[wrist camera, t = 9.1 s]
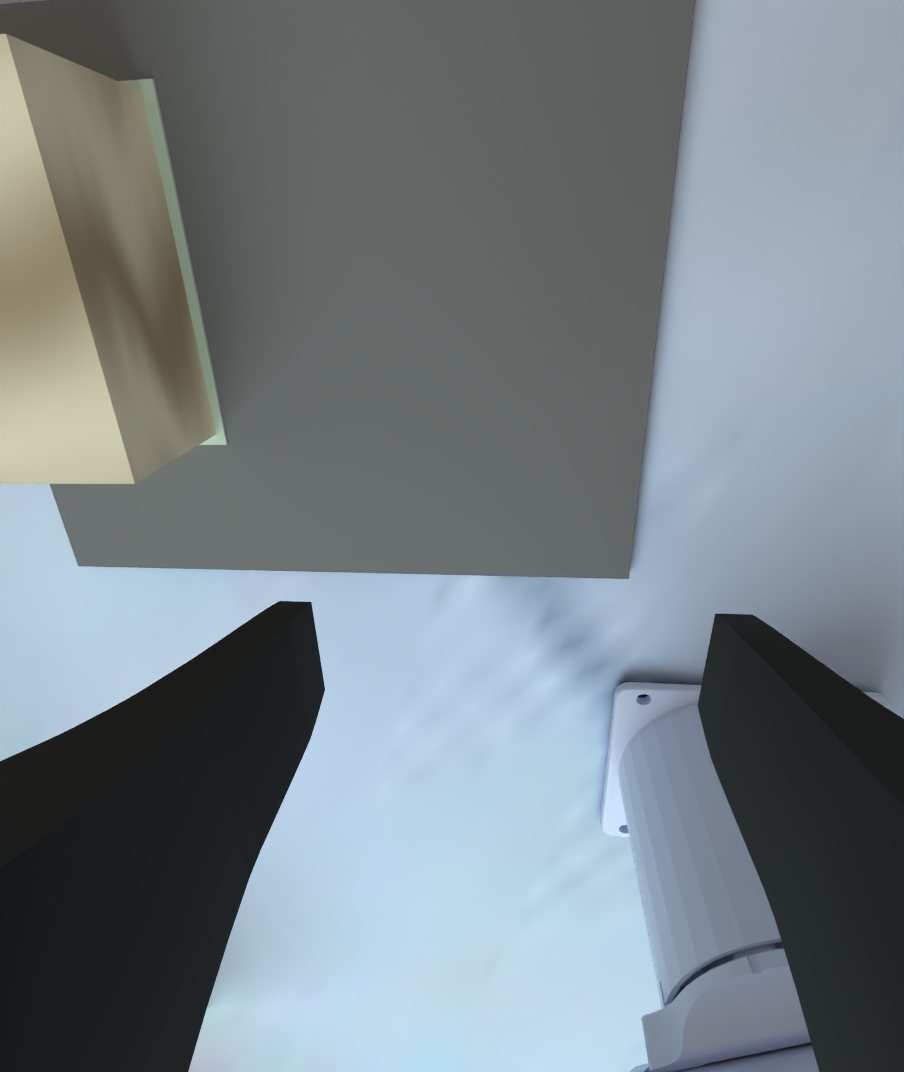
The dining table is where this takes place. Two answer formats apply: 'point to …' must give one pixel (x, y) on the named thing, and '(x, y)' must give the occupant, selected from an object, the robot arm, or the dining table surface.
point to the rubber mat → (399, 276)
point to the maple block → (88, 284)
